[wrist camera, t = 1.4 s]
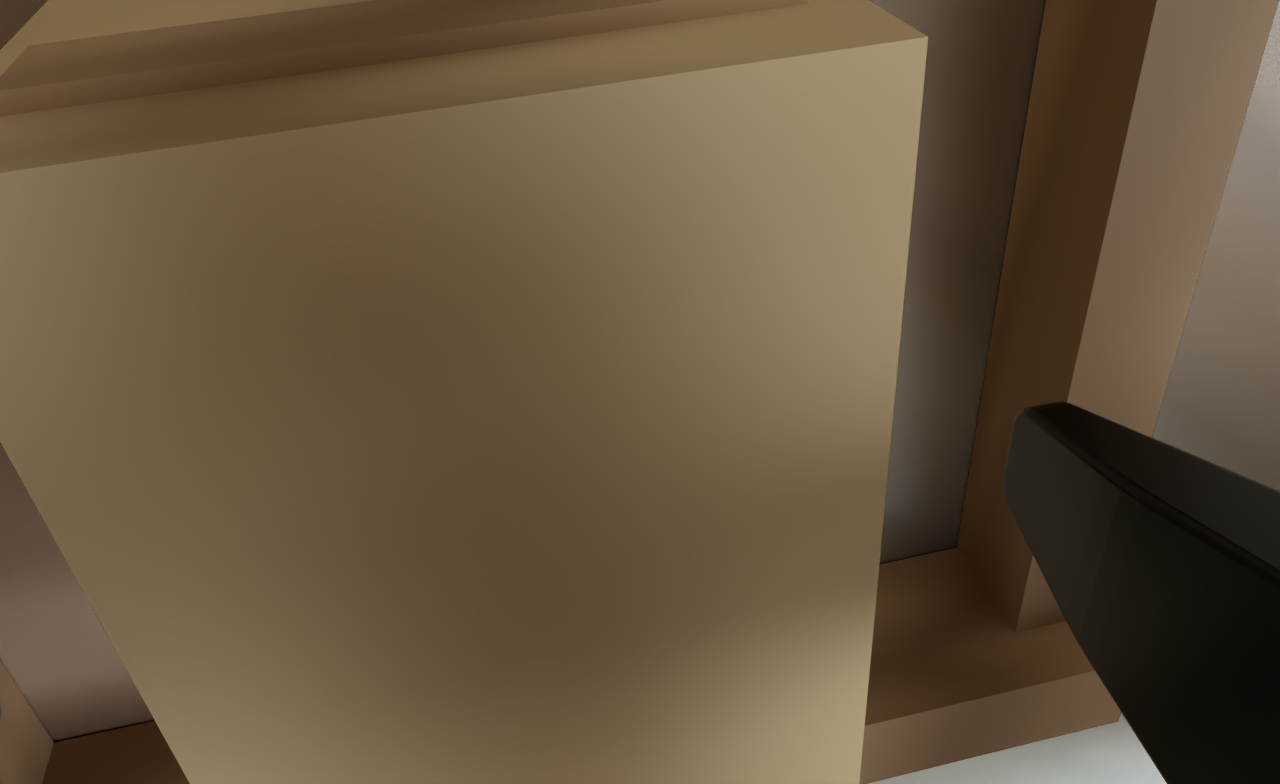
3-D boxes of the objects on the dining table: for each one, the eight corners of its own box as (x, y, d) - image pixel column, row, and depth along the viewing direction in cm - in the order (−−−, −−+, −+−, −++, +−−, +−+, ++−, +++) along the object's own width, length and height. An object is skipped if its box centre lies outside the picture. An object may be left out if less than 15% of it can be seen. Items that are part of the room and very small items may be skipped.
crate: (677, -134, 11) (930, 11, 6) (704, 464, 16) (857, 807, 11) (89, -65, 10) (-154, 167, 5) (307, 545, 15) (283, 954, 10)
